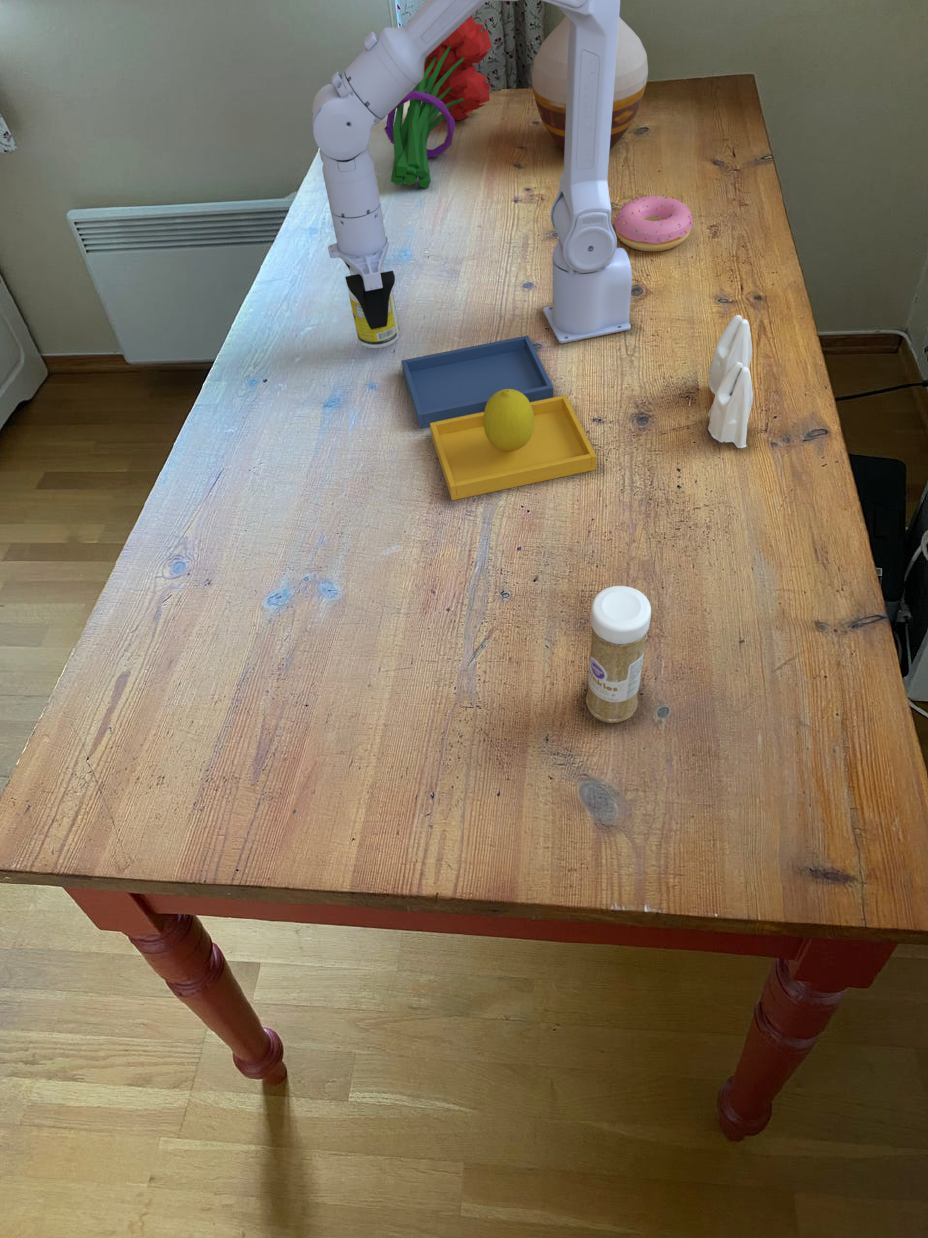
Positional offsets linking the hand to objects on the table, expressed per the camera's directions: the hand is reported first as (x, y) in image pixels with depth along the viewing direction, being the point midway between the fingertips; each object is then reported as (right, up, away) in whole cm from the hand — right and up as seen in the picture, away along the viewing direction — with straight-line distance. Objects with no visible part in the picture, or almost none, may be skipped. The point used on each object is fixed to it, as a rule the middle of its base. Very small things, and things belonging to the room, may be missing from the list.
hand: (374, 313), depth 111 cm
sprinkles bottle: (+24, -46, -33) cm, 61 cm away
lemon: (+16, -19, -11) cm, 28 cm away
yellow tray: (+16, -19, -11) cm, 28 cm away
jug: (+31, +39, +35) cm, 61 cm away
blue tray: (+13, -10, -3) cm, 16 cm away
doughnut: (+38, +16, +16) cm, 45 cm away
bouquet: (+6, +40, +39) cm, 56 cm away
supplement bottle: (0, -2, +3) cm, 4 cm away
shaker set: (+41, -15, -9) cm, 45 cm away
